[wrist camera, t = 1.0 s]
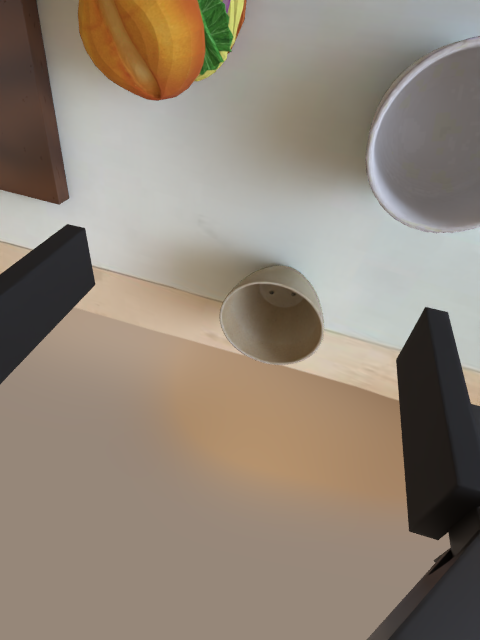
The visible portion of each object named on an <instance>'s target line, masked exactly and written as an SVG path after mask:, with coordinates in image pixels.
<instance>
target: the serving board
mask: <svg viewBox="0 0 480 640" xmlns="http://www.w3.org/2000/svg"><path fill="white" fill-rule="evenodd" d="M0 190H4V191H8V192H12V193H16V194H20V195H24V196H28V197H31V198H35V199H39V200H43V201H47V202H51V203H55V204H61V203H63V202H64V201H66V200H67V199H69V194H68V188H67V182H66V176H65V170H64V164H63V158H62V152H61V147H60V141H59V135H58V129H57V123H56V117H55V111H54V105H53V99H52V93H51V87H50V81H49V75H48V69H47V63H46V57H45V51H44V45H43V39H42V33H41V27H40V21H39V15H38V10H37V4H36V0H0Z"/></svg>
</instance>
